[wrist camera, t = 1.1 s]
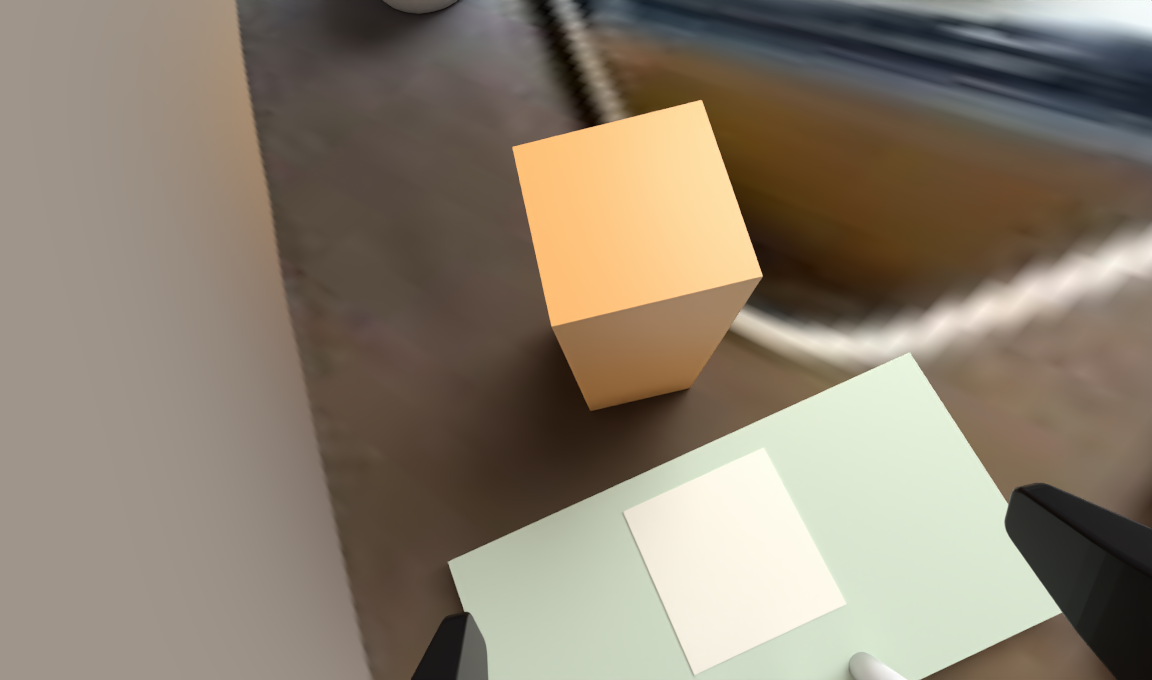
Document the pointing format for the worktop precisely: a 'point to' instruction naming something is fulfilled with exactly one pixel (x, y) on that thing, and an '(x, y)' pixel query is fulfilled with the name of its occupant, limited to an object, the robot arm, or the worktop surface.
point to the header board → (770, 555)
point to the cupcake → (419, 5)
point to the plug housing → (637, 250)
